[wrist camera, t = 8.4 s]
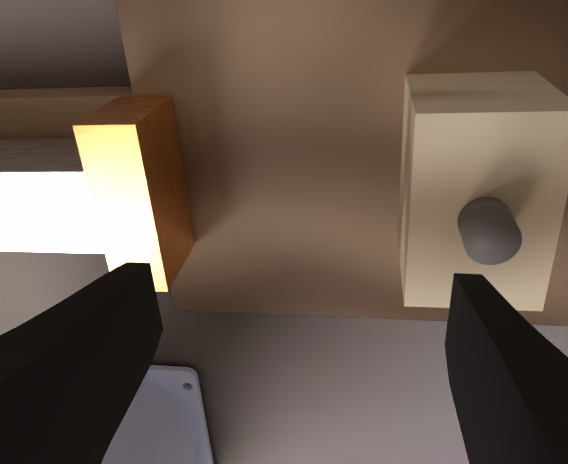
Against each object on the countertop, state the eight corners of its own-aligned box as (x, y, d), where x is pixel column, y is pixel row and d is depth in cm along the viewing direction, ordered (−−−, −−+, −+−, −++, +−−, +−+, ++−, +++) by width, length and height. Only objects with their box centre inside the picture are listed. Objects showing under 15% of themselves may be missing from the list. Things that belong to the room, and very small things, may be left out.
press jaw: (195, 243, 22) (167, 291, 19) (-68, 238, 23) (-131, 281, 20) (171, 95, 19) (135, 124, 16) (-126, 102, 20) (-209, 129, 18)
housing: (508, 237, 20) (554, 337, 15) (397, 235, 20) (406, 331, 15) (535, 70, 17) (604, 125, 12) (405, 74, 17) (419, 128, 12)
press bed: (600, 305, 22) (663, 405, 17) (-37, 283, 27) (-126, 358, 22) (697, -48, 16) (838, -43, 11) (-154, 1, 20) (-314, 20, 16)
